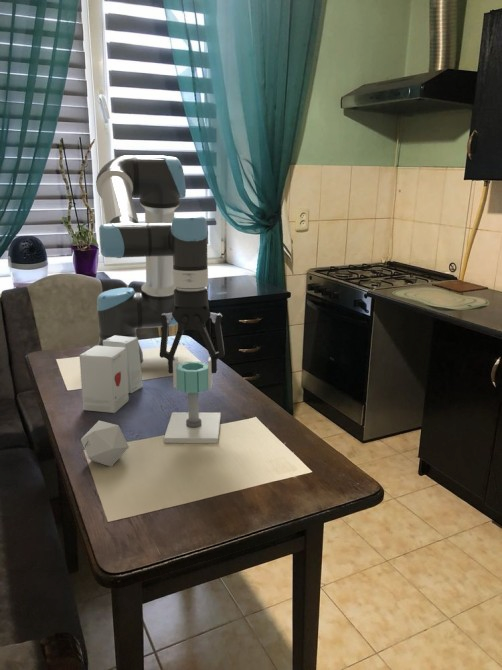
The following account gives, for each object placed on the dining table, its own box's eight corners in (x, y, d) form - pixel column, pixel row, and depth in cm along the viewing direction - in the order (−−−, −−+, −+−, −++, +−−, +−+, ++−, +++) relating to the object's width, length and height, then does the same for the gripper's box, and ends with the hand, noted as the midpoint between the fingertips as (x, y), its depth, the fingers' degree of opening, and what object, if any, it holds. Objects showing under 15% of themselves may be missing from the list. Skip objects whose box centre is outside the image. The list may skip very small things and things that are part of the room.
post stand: (172, 416, 134) (171, 374, 131) (220, 417, 134) (220, 374, 131) (164, 442, 121) (162, 395, 118) (217, 443, 121) (217, 396, 118)
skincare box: (143, 387, 153) (140, 337, 149) (130, 394, 148) (127, 342, 144) (118, 383, 157) (115, 333, 153) (105, 390, 151) (102, 339, 147)
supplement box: (115, 414, 136) (111, 357, 132) (82, 410, 137) (77, 354, 133) (130, 400, 144) (127, 346, 140) (99, 397, 146) (95, 344, 142)
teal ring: (179, 381, 128) (178, 361, 127) (209, 381, 128) (209, 361, 127) (175, 392, 121) (174, 371, 120) (207, 392, 121) (207, 371, 120)
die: (91, 452, 118) (67, 430, 110) (126, 428, 119) (105, 405, 112) (104, 481, 112) (80, 459, 105) (141, 456, 114) (119, 432, 106)
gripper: (141, 290, 115) (146, 391, 121) (236, 291, 115) (236, 392, 121) (148, 284, 122) (152, 380, 128) (236, 285, 122) (236, 380, 128)
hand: (193, 385), depth 124 cm, fingers closed on teal ring, 7 cm apart
